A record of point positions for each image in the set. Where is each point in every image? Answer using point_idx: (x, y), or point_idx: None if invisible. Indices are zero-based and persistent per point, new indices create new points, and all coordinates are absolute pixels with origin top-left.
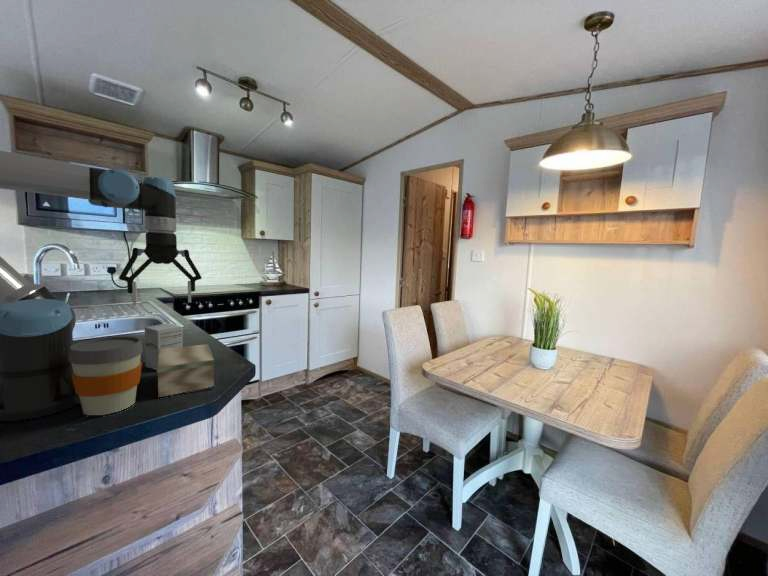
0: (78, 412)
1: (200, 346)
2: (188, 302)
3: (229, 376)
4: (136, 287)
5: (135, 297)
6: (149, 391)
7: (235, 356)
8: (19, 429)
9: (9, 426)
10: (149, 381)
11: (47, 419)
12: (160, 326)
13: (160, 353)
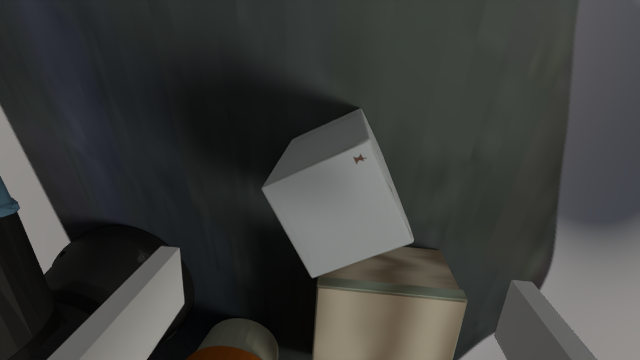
0: (199, 341)
1: (437, 318)
2: (495, 333)
3: (469, 320)
4: (95, 357)
5: (153, 343)
6: (301, 314)
7: (560, 169)
8: None
9: None
10: None
11: None
12: (325, 214)
13: (319, 332)
